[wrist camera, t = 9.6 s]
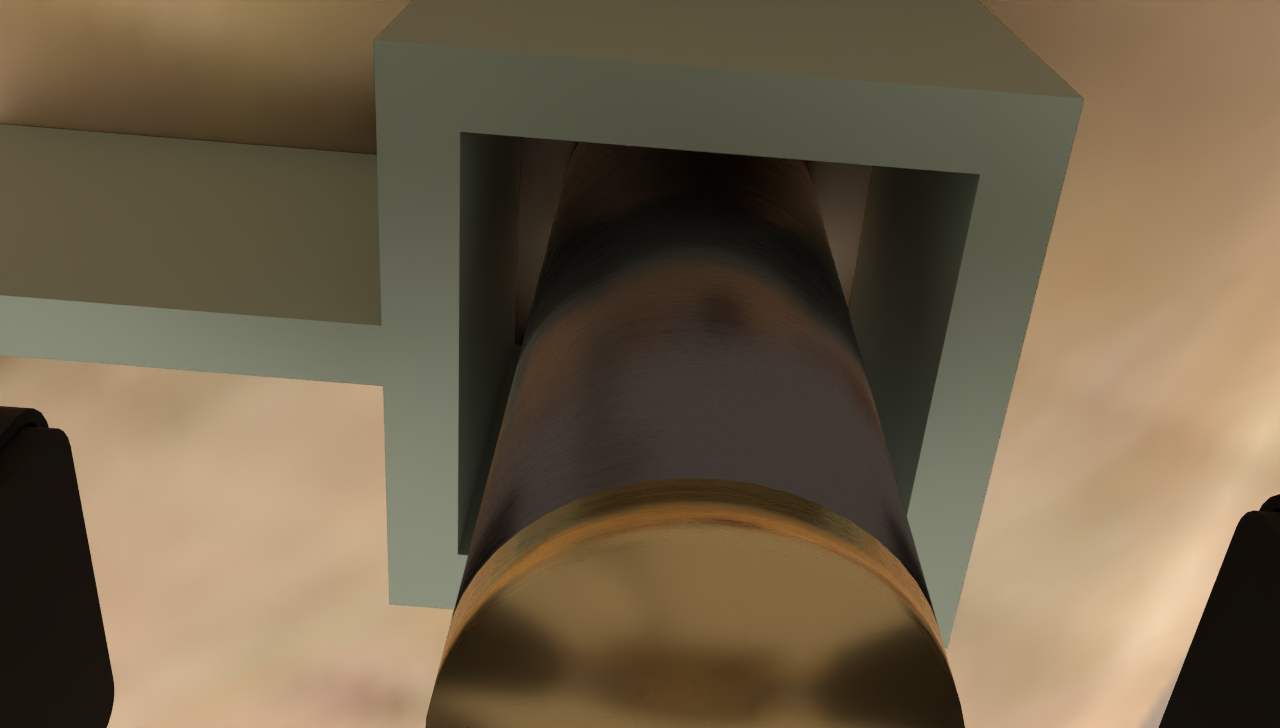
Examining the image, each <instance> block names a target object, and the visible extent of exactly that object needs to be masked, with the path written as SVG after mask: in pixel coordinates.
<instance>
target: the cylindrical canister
mask: <svg viewBox="0 0 1280 728" xmlns="http://www.w3.org/2000/svg"><path fill="white" fill-rule="evenodd" d="M426 728H965V726H964V720H963V715H962V709H961V704H960V701H959V697H958V694H957V690H956V687H955V683H954V680H953V676H952V673H951V669H950V666H949V662H948V659H947V655H946V652H945V648H944V645H943V641H942V638H941V634H940V631H939V627H938V624H937V620H936V617H935V613H934V610H933V606H932V603H931V599H930V596H929V592H928V589H927V585H926V582H925V578H924V575H923V571H922V568H921V564H920V561H919V557H918V554H917V550H916V547H915V543H914V540H913V536H912V533H911V529H910V526H909V522H908V519H907V515H906V512H905V508H904V505H903V501H902V498H901V494H900V491H899V487H898V484H897V480H896V477H895V473H894V470H893V466H892V463H891V459H890V455H889V452H888V448H887V445H886V441H885V438H884V434H883V431H882V427H881V424H880V420H879V417H878V413H877V410H876V406H875V403H874V399H873V396H872V392H871V389H870V385H869V382H868V378H867V375H866V371H865V368H864V364H863V361H862V357H861V354H860V350H859V347H858V343H857V340H856V336H855V333H854V329H853V326H852V322H851V319H850V315H849V312H848V308H847V305H846V301H845V298H844V294H843V291H842V287H841V284H840V280H839V277H838V273H837V270H836V266H835V263H834V259H833V256H832V252H831V249H830V245H829V242H828V238H827V235H826V231H825V228H824V224H823V221H822V217H821V214H820V210H819V207H818V203H817V200H816V196H815V193H814V189H813V186H812V182H811V179H810V175H809V172H808V168H807V165H806V162H805V160H799V159H787V158H775V157H762V156H750V155H738V154H726V153H713V152H701V151H689V150H677V149H665V148H652V147H640V146H628V145H616V144H603V143H591V142H578V144H577V145H576V147H575V149H574V152H573V154H572V157H571V159H570V161H569V165H568V169H567V173H566V176H565V180H564V184H563V188H562V192H561V196H560V200H559V204H558V208H557V211H556V215H555V219H554V223H553V227H552V231H551V235H550V239H549V242H548V246H547V250H546V254H545V258H544V262H543V266H542V270H541V274H540V277H539V281H538V285H537V289H536V293H535V297H534V301H533V305H532V309H531V312H530V316H529V320H528V324H527V328H526V332H525V336H524V340H523V344H522V347H521V351H520V355H519V359H518V363H517V367H516V371H515V375H514V379H513V382H512V386H511V390H510V394H509V398H508V402H507V406H506V410H505V414H504V417H503V421H502V425H501V429H500V433H499V437H498V441H497V445H496V449H495V452H494V456H493V460H492V464H491V468H490V472H489V476H488V480H487V484H486V487H485V491H484V495H483V499H482V503H481V507H480V511H479V515H478V519H477V522H476V526H475V530H474V534H473V538H472V542H471V546H470V550H469V554H468V557H467V561H466V565H465V569H464V573H463V577H462V581H461V585H460V589H459V592H458V596H457V600H456V604H455V608H454V612H453V616H452V620H451V624H450V627H449V631H448V635H447V639H446V643H445V647H444V651H443V655H442V659H441V662H440V666H439V670H438V674H437V678H436V682H435V686H434V690H433V694H432V697H431V701H430V705H429V709H428V713H427V717H426Z"/></svg>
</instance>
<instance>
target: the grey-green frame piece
mask: <svg viewBox="0 0 1280 728" xmlns="http://www.w3.org/2000/svg"><path fill="white" fill-rule="evenodd" d="M374 66H375V102H376V138H377V155H373V154H361V153H349V152H337V151H324V150H312V149H300V148H288V147H275V146H263V145H251V144H239V143H226V142H214V141H202V140H190V139H177V138H165V137H153V136H141V135H128V134H116V133H104V132H92V131H79V130H67V129H55V128H43V127H30V126H18V125H6V124H0V355H2V356H15V357H27V358H40V359H52V360H65V361H77V362H90V363H102V364H115V365H127V366H140V367H152V368H165V369H177V370H190V371H202V372H214V373H227V374H239V375H252V376H264V377H277V378H289V379H302V380H314V381H327V382H339V383H352V384H364V385H377V386H383V393H384V429H385V465H386V501H387V538H388V574H389V604H391V605H403V606H416V607H429V608H441V609H454V608H455V604H456V600H457V596H458V592H459V589H460V585H461V581H462V577H463V573H464V569H465V565H466V561H467V557H468V554H469V550H470V546H471V542H472V538H473V534H474V530H475V526H476V522H477V519H478V515H479V511H480V507H481V503H482V499H483V495H484V491H485V487H486V484H487V480H488V476H489V472H490V468H491V464H492V460H493V456H494V452H495V449H496V445H497V441H498V437H499V433H500V429H501V425H502V421H503V417H504V414H505V410H506V406H507V402H508V398H509V394H510V390H511V386H512V382H513V379H514V375H515V371H516V367H517V363H518V359H519V355H520V351H521V347H522V345H517V344H515V316H516V282H517V248H518V214H519V181H520V147H521V137H530V138H542V139H555V140H567V141H579V142H591V143H603V144H616V145H628V146H640V147H652V148H665V149H677V150H689V151H701V152H713V153H726V154H738V155H750V156H762V157H775V158H787V159H799V160H811V161H823V162H836V163H848V164H860V165H872V166H873V170H872V176H871V182H870V188H869V194H868V199H867V205H866V211H865V217H864V223H863V229H862V234H861V240H860V246H859V252H858V258H857V264H856V269H855V275H854V281H853V287H852V293H851V299H850V304H849V310H848V312H849V315H850V319H851V322H852V326H853V329H854V333H855V336H856V340H857V343H858V347H859V350H860V354H861V357H862V361H863V364H864V368H865V371H866V375H867V378H868V382H869V385H870V389H871V392H872V396H873V399H874V403H875V406H876V410H877V413H878V417H879V420H880V424H881V427H882V431H883V434H884V438H885V441H886V445H887V448H888V452H889V455H890V459H891V463H892V466H893V470H894V473H895V477H896V480H897V484H898V487H899V491H900V494H901V498H902V501H903V505H904V508H905V512H906V515H907V519H908V522H909V526H910V529H911V533H912V536H913V540H914V543H915V547H916V550H917V554H918V557H919V561H920V564H921V568H922V571H923V575H924V578H925V582H926V585H927V589H928V592H929V596H930V599H931V603H932V606H933V610H934V613H935V617H936V620H937V624H938V627H939V631H940V634H941V638H942V641H943V645H944V648H947V647H948V643H949V639H950V635H951V631H952V627H953V623H954V619H955V615H956V611H957V607H958V603H959V599H960V595H961V591H962V587H963V583H964V579H965V575H966V571H967V567H968V563H969V559H970V555H971V551H972V547H973V543H974V539H975V535H976V531H977V527H978V523H979V519H980V515H981V511H982V507H983V503H984V499H985V495H986V491H987V487H988V483H989V479H990V475H991V471H992V467H993V463H994V459H995V455H996V451H997V447H998V443H999V439H1000V435H1001V431H1002V427H1003V423H1004V419H1005V414H1006V410H1007V406H1008V402H1009V398H1010V394H1011V390H1012V386H1013V382H1014V378H1015V374H1016V370H1017V366H1018V362H1019V358H1020V354H1021V350H1022V346H1023V342H1024V338H1025V334H1026V330H1027V326H1028V322H1029V318H1030V314H1031V310H1032V306H1033V302H1034V298H1035V294H1036V290H1037V286H1038V282H1039V278H1040V274H1041V270H1042V266H1043V262H1044V258H1045V254H1046V250H1047V246H1048V242H1049V238H1050V234H1051V230H1052V226H1053V222H1054V218H1055V214H1056V210H1057V206H1058V202H1059V198H1060V194H1061V190H1062V186H1063V182H1064V178H1065V174H1066V170H1067V166H1068V162H1069V158H1070V154H1071V150H1072V146H1073V142H1074V138H1075V134H1076V130H1077V126H1078V122H1079V118H1080V114H1081V110H1082V106H1083V101H1084V98H1083V97H1082V96H1081V95H1080V94H1078V93H1077V92H1076V91H1075V90H1074V89H1073V88H1072V87H1071V86H1070V85H1069V84H1068V83H1067V82H1066V81H1064V80H1063V79H1062V78H1061V77H1060V76H1059V75H1058V74H1057V73H1056V72H1055V71H1054V70H1053V69H1051V68H1050V67H1049V66H1048V65H1047V64H1046V63H1045V62H1044V61H1043V60H1042V59H1041V58H1040V57H1039V56H1037V55H1036V54H1035V53H1034V52H1033V51H1032V50H1031V49H1030V48H1029V47H1028V46H1027V45H1026V44H1025V43H1023V42H1022V41H1021V40H1020V39H1019V38H1018V37H1017V36H1016V35H1015V34H1014V33H1013V32H1012V31H1010V30H1009V29H1008V28H1007V27H1006V26H1005V25H1004V24H1003V23H1002V22H1001V21H1000V20H999V19H998V18H996V17H995V16H994V15H993V14H992V13H991V12H990V11H989V10H988V9H987V8H986V7H985V6H984V5H982V4H981V3H980V2H979V1H978V0H413V1H412V2H411V3H410V4H409V5H408V6H407V7H406V8H405V9H404V10H403V11H402V12H401V13H400V14H399V15H398V16H397V17H396V18H395V19H394V20H393V21H392V22H391V23H390V24H389V25H388V26H387V27H386V28H385V29H384V30H383V31H382V32H381V33H380V34H379V35H378V37H377V38H376V39H375V40H374Z"/></svg>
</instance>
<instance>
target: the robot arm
mask: <svg viewBox="0 0 1280 728" xmlns="http://www.w3.org/2000/svg"><path fill="white" fill-rule="evenodd" d="M113 701H114V681H113V675H112V670H111V664H110V659H109V653H108V648H107V642H106V637H105V631H104V626H103V620H102V615H101V610H100V604H99V599H98V593H97V588H96V582H95V577H94V571H93V566H92V561H91V555H90V550H89V544H88V539H87V533H86V528H85V522H84V517H83V511H82V506H81V501H80V495H79V490H78V484H77V479H76V473H75V468H74V462H73V457H72V451H71V446H70V443H69V440H68V437H67V436H66V434H65V433H64V431H62V430H60V429H56V428H49V427H48V424H47V421H46V419H45V418H44V416H43V415H42V413H41V412H39V411H37V410H35V409H33V408H19V407H4V406H0V728H107V725H108V723H109V719H110V716H111V713H112V707H113ZM1159 728H1280V494H1279V495H1276V496H1273V497H1270V498H1269V499H1268V500H1267V501H1266V502H1265V503H1264V504H1263V505H1262V506H1261V508H1260V510H1259V511H1251V512H1247V513H1246V514H1245V515H1244V516H1243V517H1242V518H1241V519H1240V521H1239V523H1238V525H1237V527H1236V530H1235V532H1234V535H1233V537H1232V540H1231V542H1230V545H1229V548H1228V550H1227V553H1226V555H1225V558H1224V560H1223V563H1222V566H1221V568H1220V571H1219V573H1218V576H1217V579H1216V581H1215V584H1214V586H1213V589H1212V591H1211V594H1210V597H1209V599H1208V602H1207V604H1206V607H1205V609H1204V612H1203V615H1202V617H1201V620H1200V622H1199V625H1198V628H1197V630H1196V633H1195V635H1194V638H1193V640H1192V643H1191V646H1190V648H1189V651H1188V653H1187V656H1186V658H1185V661H1184V664H1183V666H1182V669H1181V671H1180V674H1179V676H1178V679H1177V682H1176V684H1175V687H1174V689H1173V692H1172V695H1171V697H1170V700H1169V702H1168V705H1167V708H1166V710H1165V713H1164V715H1163V718H1162V720H1161V723H1160V725H1159Z"/></svg>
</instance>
